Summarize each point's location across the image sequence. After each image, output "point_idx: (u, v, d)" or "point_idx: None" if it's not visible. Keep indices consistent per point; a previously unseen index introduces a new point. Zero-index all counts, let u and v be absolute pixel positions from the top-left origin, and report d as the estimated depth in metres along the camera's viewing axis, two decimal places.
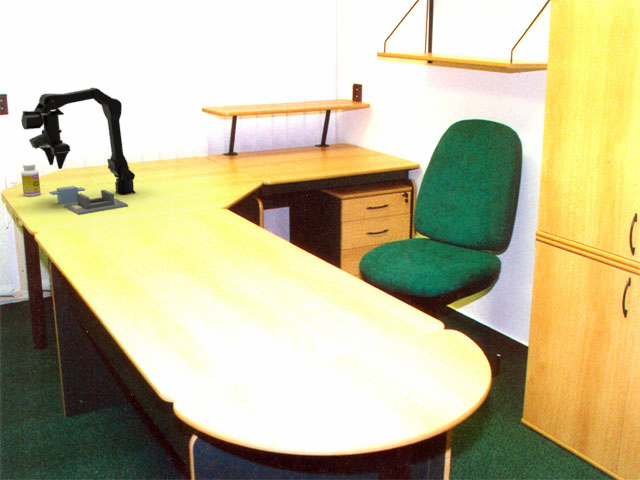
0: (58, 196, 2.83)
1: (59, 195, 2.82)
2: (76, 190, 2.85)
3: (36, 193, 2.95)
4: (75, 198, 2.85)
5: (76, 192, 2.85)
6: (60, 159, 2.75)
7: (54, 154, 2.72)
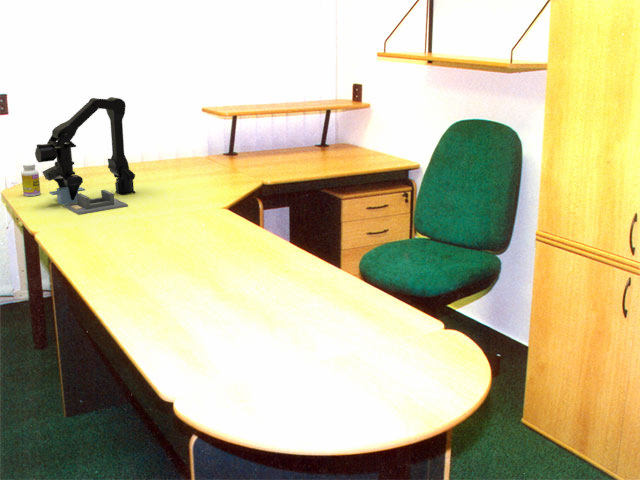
0: (58, 196, 2.83)
1: (59, 195, 2.82)
2: None
3: (36, 193, 2.95)
4: (75, 198, 2.85)
5: None
6: (73, 190, 2.80)
7: (67, 186, 2.77)
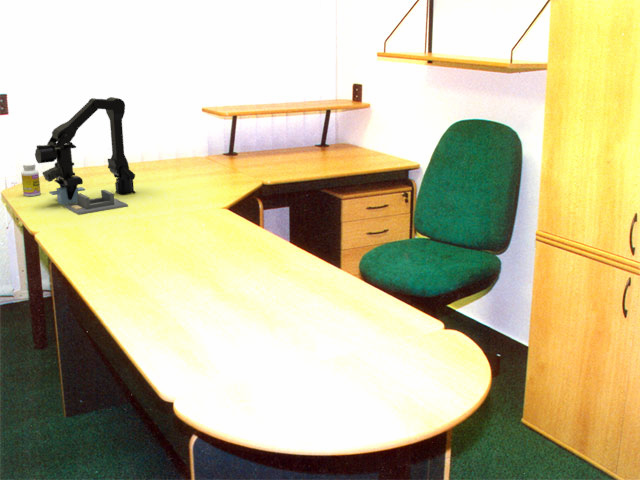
0: (58, 196, 2.83)
1: (59, 195, 2.82)
2: (76, 190, 2.85)
3: (36, 193, 2.95)
4: (75, 198, 2.85)
5: (76, 192, 2.85)
6: (70, 190, 2.82)
7: (64, 186, 2.79)
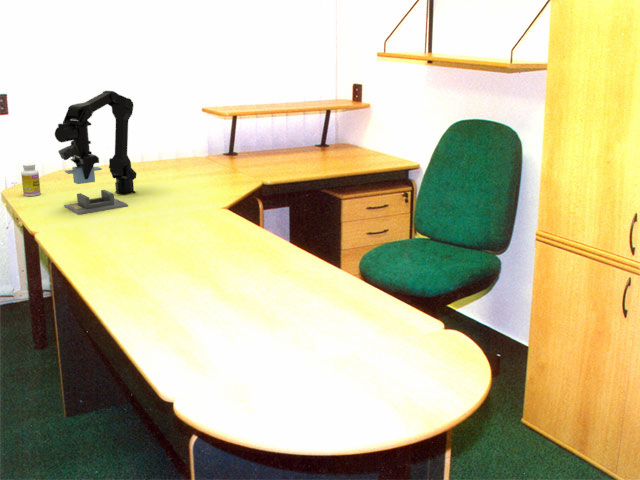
0: (74, 175, 2.77)
1: (75, 174, 2.76)
2: (92, 169, 2.78)
3: (36, 193, 2.95)
4: (91, 177, 2.79)
5: (92, 171, 2.78)
6: (86, 169, 2.75)
7: (81, 164, 2.72)
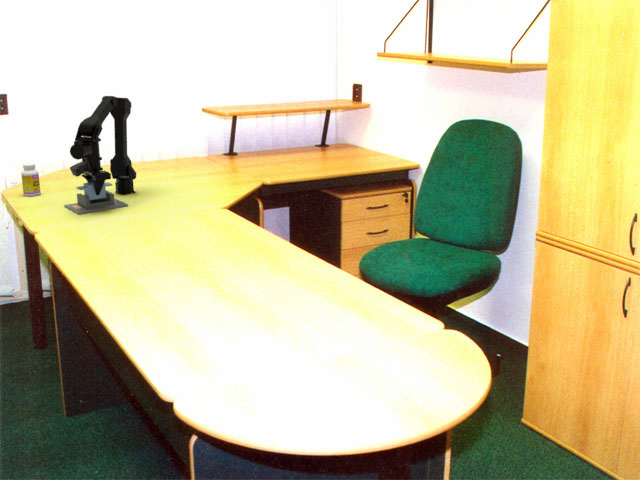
0: (85, 191, 2.77)
1: (86, 190, 2.76)
2: (103, 185, 2.78)
3: (36, 193, 2.95)
4: (102, 193, 2.79)
5: (103, 187, 2.78)
6: (98, 185, 2.75)
7: (92, 181, 2.72)
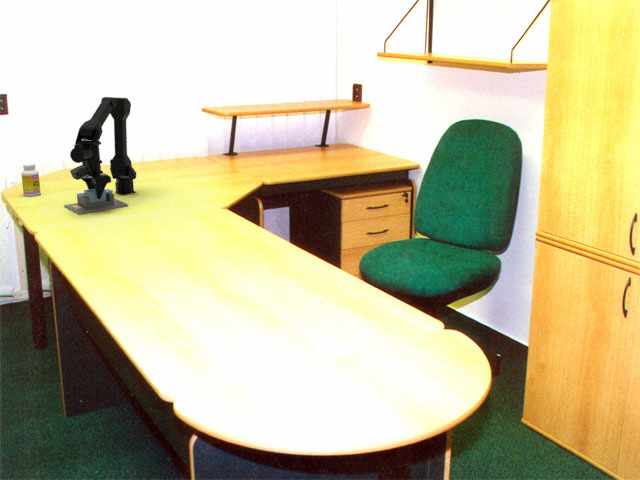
0: None
1: None
2: (104, 192, 2.79)
3: (36, 193, 2.95)
4: (103, 200, 2.79)
5: (104, 194, 2.79)
6: (99, 189, 2.75)
7: (94, 185, 2.72)
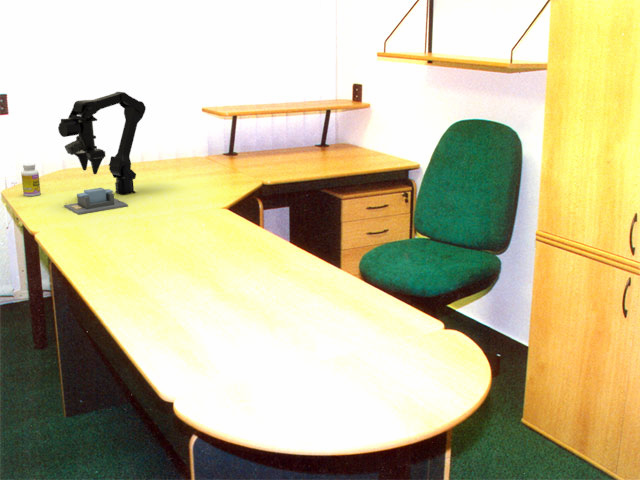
0: None
1: None
2: (104, 192, 2.79)
3: (36, 193, 2.95)
4: (103, 200, 2.79)
5: (104, 194, 2.79)
6: (95, 164, 2.81)
7: (90, 160, 2.77)
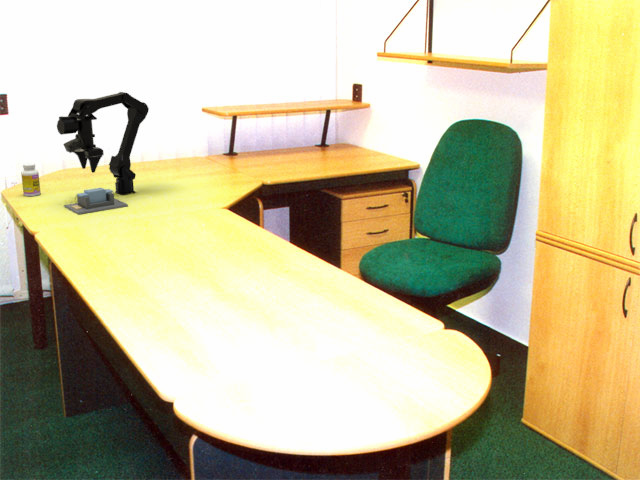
0: None
1: None
2: (104, 192, 2.79)
3: (36, 193, 2.95)
4: (103, 200, 2.79)
5: (104, 194, 2.79)
6: (93, 163, 2.82)
7: (88, 158, 2.79)
